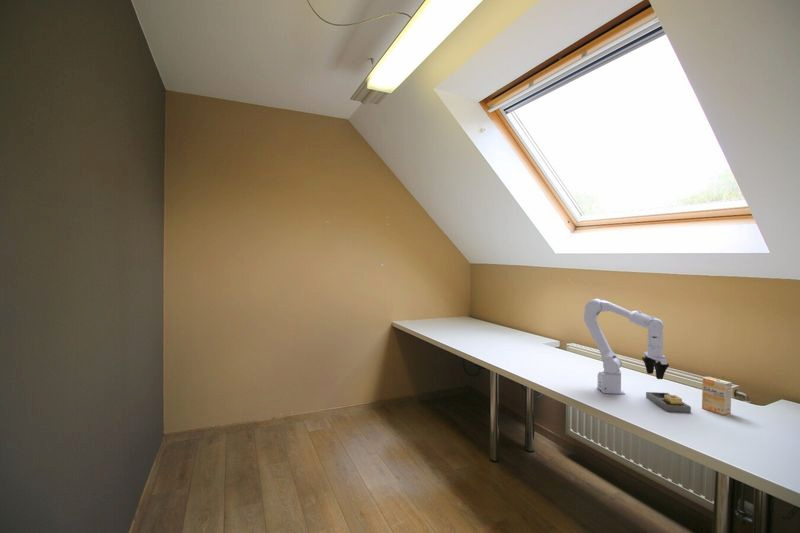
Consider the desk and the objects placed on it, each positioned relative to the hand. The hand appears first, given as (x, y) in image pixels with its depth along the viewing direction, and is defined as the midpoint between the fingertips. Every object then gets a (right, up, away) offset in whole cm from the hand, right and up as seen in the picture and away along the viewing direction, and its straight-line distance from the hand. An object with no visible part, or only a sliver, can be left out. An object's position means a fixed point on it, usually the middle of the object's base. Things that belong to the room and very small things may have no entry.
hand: (654, 376), depth 168 cm
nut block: (+1, -11, -10) cm, 15 cm away
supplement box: (+17, -11, -13) cm, 24 cm away
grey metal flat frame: (+1, -11, -6) cm, 12 cm away
